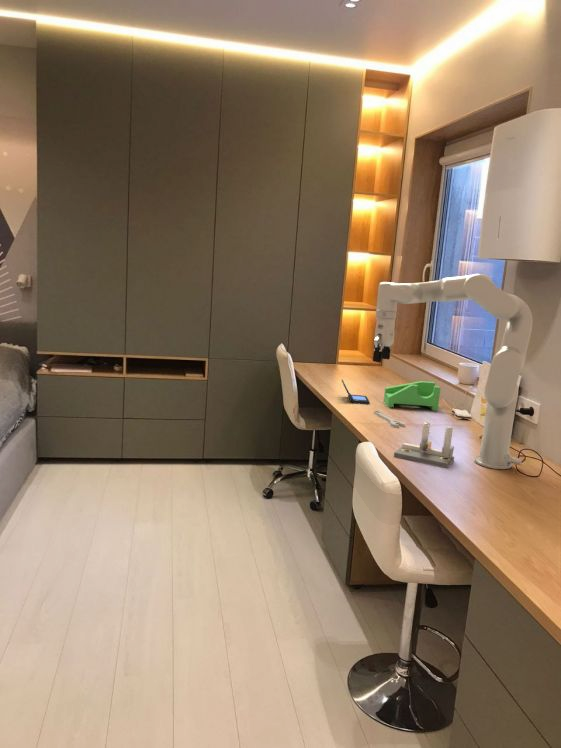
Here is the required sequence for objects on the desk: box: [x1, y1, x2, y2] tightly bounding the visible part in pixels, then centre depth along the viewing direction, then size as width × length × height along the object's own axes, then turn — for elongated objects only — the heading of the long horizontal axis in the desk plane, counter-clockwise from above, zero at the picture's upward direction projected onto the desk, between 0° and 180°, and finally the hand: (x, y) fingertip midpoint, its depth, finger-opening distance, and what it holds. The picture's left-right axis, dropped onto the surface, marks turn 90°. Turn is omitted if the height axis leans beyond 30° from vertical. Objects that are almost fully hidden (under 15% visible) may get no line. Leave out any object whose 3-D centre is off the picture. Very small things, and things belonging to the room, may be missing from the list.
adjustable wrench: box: [373, 410, 405, 428], centre depth 277 cm, size 25×6×2 cm, turn 11°
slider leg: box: [419, 421, 432, 453], centre depth 224 cm, size 3×6×11 cm, turn 152°
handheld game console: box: [341, 379, 370, 405], centre depth 312 cm, size 16×13×9 cm
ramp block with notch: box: [383, 380, 441, 412], centre depth 307 cm, size 24×13×12 cm, turn 89°
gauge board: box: [393, 425, 455, 469], centre depth 222 cm, size 19×10×13 cm, turn 62°
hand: (381, 360), depth 238 cm, fingers open, 9 cm apart
